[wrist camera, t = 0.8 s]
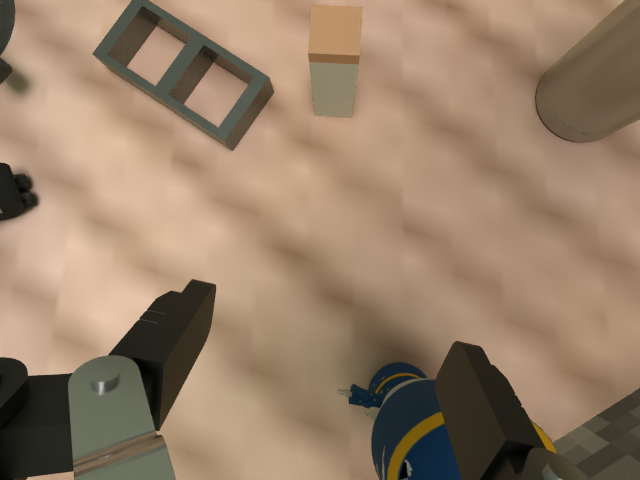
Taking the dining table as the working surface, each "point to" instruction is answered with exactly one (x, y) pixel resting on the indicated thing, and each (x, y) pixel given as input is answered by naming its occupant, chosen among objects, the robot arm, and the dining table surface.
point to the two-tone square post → (334, 58)
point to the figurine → (410, 426)
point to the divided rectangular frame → (183, 69)
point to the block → (606, 443)
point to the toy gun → (13, 193)
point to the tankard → (6, 33)
